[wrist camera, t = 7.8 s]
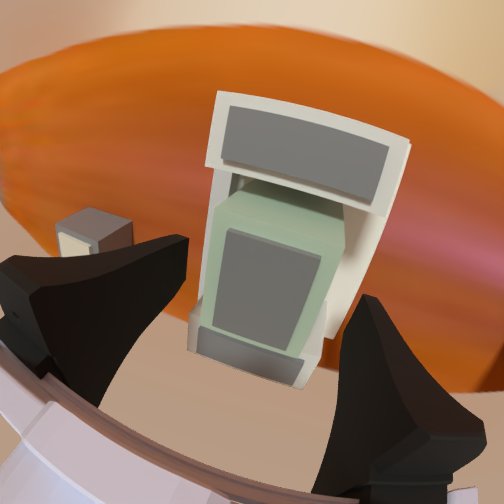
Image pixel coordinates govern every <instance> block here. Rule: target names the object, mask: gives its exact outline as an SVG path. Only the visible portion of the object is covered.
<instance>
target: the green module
mask: <svg viewBox="0 0 504 504" xmlns="http://www.w3.org/2000/svg"><path fill="white" fill-rule="evenodd" d="M344 250H345V229H344V213H343V203H340V202H337V201H333V200H330V199H327V198H324V197H321V196H317V195H314V194H311V193H307V192H304V191H300V190H297V189H293V188H290V187H286V186H283V185H279V184H275V183H272V182H268V181H264V180H260V179H256V178H255V179H254V180H252V181H251V182H249V183H248V184H246V185H245V186H244V187H242V188H241V189H240V190H238V191H237V192H235V193H234V194H233V195H231V196H230V197H228V198H227V199H226V200H224V201H223V202H222V203H220V204H219V205H218V206H216V207H215V209H214V215H213V222H212V229H211V236H210V244H209V251H208V259H207V266H206V274H205V283H204V291H203V300H202V309H201V318H200V325H201V326H203V327H206V328H209V329H211V330H214V331H216V332H219V333H222V334H225V335H227V336H230V337H233V338H236V339H238V340H241V341H244V342H247V343H250V344H253V345H256V346H259V347H262V348H265V349H268V350H271V351H274V352H277V353H280V354H283V355H287V356H290V357H293V358H296V359H298V357H299V355H300V353H301V351H302V349H303V347H304V344H305V342H306V340H307V338H308V336H309V334H310V331H311V329H312V327H313V325H314V323H315V320H316V318H317V316H318V314H319V311H320V309H321V307H322V304H323V302H324V300H325V297H326V295H327V292H328V290H329V288H330V285H331V283H332V280H333V278H334V275H335V273H336V270H337V268H338V265H339V263H340V260H341V257H342V255H343V252H344Z"/></svg>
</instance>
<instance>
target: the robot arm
mask: <svg viewBox="0 0 504 504" xmlns="http://www.w3.org/2000/svg"><path fill="white" fill-rule="evenodd" d="M188 246H189V238H187V237H184V236H181V235H178V234H174V235H169V236H164V237H161V238H157V239H153V240H150V241H146V242H143V243H139V244H136V245H132V246H128V247H124V248H120V249H116V250H112V251H107V252H102V253H96V254H90V255H82V256H71V257H30V256H19V255H14V256H11V257H9V258H8V259H6V260H5V261H3V262H2V263H0V304H1V307H2V310H3V312H4V314H5V316H4V317H2V318H1V319H0V413H1V415H2V416H3V417H4V418H5V419H6V420H7V422H8V423H9V424H10V425H11V426H12V427H13V428H14V429H15V430H16V431H17V433H18V434H19V435H20V436H21V439H22V441H21V442H20V443H19V444H18V446H17V447H16V448H15V450H14V451H13V452H12V453H11V455H10V456H9V457H8V458H7V460H6V461H5V462H4V463H3V465H2V466H1V467H0V504H238V503H235V502H233V501H236V502H240V503H243V504H478V487H475V486H474V487H468V488H462V489H456V490H452V491H449V492H447V485H448V484H451V483H452V481H453V473H454V472H455V471H457V470H458V469H460V468H461V467H463V466H465V465H466V464H468V463H469V462H471V461H472V460H474V459H475V458H476V457H478V456H479V455H480V454H481V453H482V452H483V450H484V449H485V447H486V445H487V441H486V434H485V429H484V423H483V421H482V420H481V419H479V418H478V417H476V416H475V415H474V414H472V413H471V412H470V411H468V410H467V409H466V408H464V407H463V406H462V405H461V404H460V403H458V402H457V401H456V400H455V399H454V398H453V397H452V396H450V395H449V394H448V393H447V392H446V391H445V390H444V389H443V388H442V387H441V386H440V385H439V384H438V382H437V381H436V380H435V379H434V378H433V377H432V376H431V375H430V374H429V373H428V372H427V370H426V369H425V368H424V367H423V365H422V364H421V363H420V362H419V360H418V359H417V358H416V357H415V355H414V354H413V352H412V351H411V350H410V348H409V347H408V345H407V344H406V342H405V341H404V339H403V338H402V336H401V335H400V333H399V332H398V330H397V328H396V327H395V325H394V324H393V322H392V320H391V319H390V317H389V315H388V314H387V312H386V311H385V309H384V307H383V306H382V304H381V303H380V301H379V300H378V299H377V298H376V297H373V296H369V295H366V294H363V295H362V297H361V299H360V301H359V303H358V305H357V307H356V309H355V311H354V313H353V315H352V317H351V319H350V321H349V323H348V324H347V326H346V328H345V330H344V333H343V338H342V344H341V350H340V362H339V381H338V396H337V405H336V411H335V416H334V421H333V425H332V429H331V433H330V437H329V441H328V445H327V448H326V452H325V455H324V458H323V461H322V464H321V467H320V470H319V473H318V475H317V478H316V481H315V483H314V486H313V488H312V491H311V493H306V492H300V491H295V490H290V489H286V488H281V487H277V486H273V485H269V484H265V483H261V482H258V481H254V480H251V479H247V478H244V477H240V476H237V475H234V474H231V473H228V472H225V471H222V470H220V469H217V468H214V467H211V466H209V465H206V464H204V463H201V462H198V461H196V460H194V459H191V458H189V457H187V456H184V455H182V454H180V453H177V452H175V451H173V450H171V449H169V448H167V447H165V446H163V445H160V444H158V443H156V442H154V441H153V440H151V439H149V438H147V437H145V436H143V435H141V434H139V433H137V432H136V431H134V430H132V429H130V428H128V427H127V426H125V425H123V424H122V423H120V422H118V421H117V420H115V419H113V418H112V417H110V416H109V415H107V414H105V413H104V412H102V411H101V410H99V409H98V407H99V405H100V403H101V401H102V398H103V396H104V394H105V392H106V390H107V388H108V386H109V385H110V383H111V381H112V379H113V377H114V375H115V374H116V372H117V370H118V368H119V367H120V365H121V364H122V362H123V360H124V359H125V357H126V355H127V354H128V352H129V351H130V349H131V348H132V346H133V345H134V343H135V342H136V341H137V339H138V338H139V336H140V335H141V334H142V333H143V331H144V330H145V329H146V328H147V327H148V326H149V324H150V323H151V322H152V321H153V320H154V319H155V318H156V317H157V316H158V314H159V313H160V312H161V311H162V310H163V309H164V308H165V307H166V306H167V304H168V303H169V302H170V301H171V300H172V299H173V298H174V296H175V295H176V293H177V292H178V290H179V289H180V287H181V286H182V284H183V283H184V281H185V280H186V270H187V257H188ZM231 500H233V501H231Z"/></svg>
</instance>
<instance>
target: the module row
mask: <svg viewBox="0 0 504 504" xmlns="http://www.w3.org/2000/svg"><path fill="white" fill-rule="evenodd" d="M409 141H410V140H409V139H407V138H404V137H401V136H399V135H396V134H394V133H391V132H388V131H386V130H383V129H380V128H377V127H374V126H372V125H369V124H366V123H363V122H360V121H356V120H353V119H350V118H347V117H343V116H340V115H337V114H333V113H329V112H326V111H322V110H318V109H314V108H310V107H306V106H302V105H298V104H293V103H289V102H284V101H279V100H274V99H269V98H264V97H258V96H252V95H246V94H239V93H232V92H225V91H217V96H216V101H215V107H214V112H213V118H212V124H211V130H210V136H209V142H208V148H207V155H206V161H205V166H206V167H211V168H214V175H213V181H212V188H211V195H210V202H209V209H208V217H207V224H206V232H205V240H204V248H203V256H202V265H201V274H200V284H199V293H198V302H197V303H196V305H195V306H194V307H193V309H192V310H191V311H190V313H189V323H188V340H187V341H188V342H187V350H188V351H190V352H193V353H195V354H198V355H200V356H203V357H205V358H208V359H211V360H213V361H216V362H218V363H221V364H223V365H226V366H229V367H232V368H234V369H237V370H240V371H243V372H246V373H249V374H252V375H255V376H258V377H261V378H264V379H267V380H270V381H273V382H276V383H280V384H283V385H287V386H290V387H293V388H297V389H300V390H302V389H303V388H304V386H305V385H306V383H307V381H308V380H309V378H310V376H311V374H312V373H313V371H314V369H315V368H316V366H317V364H318V362H319V360H320V359H321V354H322V347H323V339H324V337H326V338H329V339H334V337H335V335H336V333H337V331H338V329H339V328H340V326H341V324H342V322H343V320H344V318H345V316H346V314H347V312H348V310H349V308H350V305H351V303H352V301H353V299H354V297H355V295H356V293H357V291H358V289H359V286H360V284H361V282H362V280H363V277H364V275H365V273H366V271H367V268H368V266H369V264H370V261H371V259H372V257H373V254H374V252H375V249H376V247H377V245H378V242H379V240H380V237H381V234H382V232H383V229H384V227H385V224H386V221H387V219H388V216H389V213H390V210H391V208H392V205H393V202H394V199H395V196H396V193H397V190H398V187H399V184H400V181H401V178H402V175H403V172H404V169H405V165H406V162H407V159H408V155H409V152H410V148H411V144H409ZM255 178H256V179H260V180H264V181H268V182H272V183H275V184H279V185H283V186H286V187H290V188H293V189H297V190H300V191H304V192H307V193H311V194H314V195H317V196H321V197H324V198H327V199H330V200H333V201H337V202H340V203H343V213H344V229H345V250H344V252H343V255H342V257H341V260H340V263H339V265H338V268H337V270H336V273H335V275H334V278H333V280H332V283H331V285H330V288H329V290H328V292H327V295H326V297H325V300H324V302H323V304H322V307H321V309H320V311H319V314H318V316H317V318H316V320H315V323H314V325H313V327H312V329H311V331H310V334H309V336H308V338H307V340H306V342H305V344H304V347H303V349H302V351H301V353H300V355H299V357H298V359H296V358H293V357H290V356H287V355H283V354H280V353H277V352H274V351H271V350H268V349H265V348H262V347H259V346H256V345H253V344H250V343H247V342H244V341H241V340H238V339H236V338H233V337H230V336H227V335H225V334H222V333H219V332H216V331H214V330H211V329H209V328H206V327H203V326H201V325H200V318H201V309H202V300H203V291H204V283H205V274H206V266H207V259H208V251H209V244H210V236H211V229H212V222H213V215H214V209H215V207H216V206H218V205H219V204H220V203H222V202H223V201H224V200H226V199H227V198H228V197H230V196H231V195H233V194H234V193H235V192H237V191H238V190H240V189H241V188H242V187H244V186H245V185H246V184H248V183H249V182H251V181H252V180H254V179H255Z"/></svg>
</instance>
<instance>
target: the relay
mask: <svg viewBox="0 0 504 504" xmlns="http://www.w3.org/2000/svg"><path fill="white" fill-rule="evenodd" d="M55 227H56V234H57V241H58V248H59V254H60V257H71V256H82V255H90V254H96V253H102V252H107V251H112V250H116V249H120V248H124V247H128V246H132V221H131V220H128V219H125V218H122V217H119V216H116V215H113V214H110V213H107V212H104V211H101V210H98V209H94V208H91V207H87V208H85V209H83V210H81V211H79V212H77V213H75V214H73V215H71V216H69V217H67V218H65V219H63V220H61V221H59V222H57V223H55Z"/></svg>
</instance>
